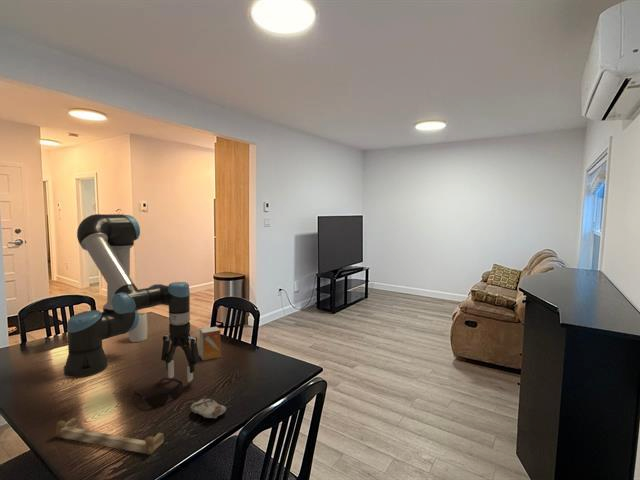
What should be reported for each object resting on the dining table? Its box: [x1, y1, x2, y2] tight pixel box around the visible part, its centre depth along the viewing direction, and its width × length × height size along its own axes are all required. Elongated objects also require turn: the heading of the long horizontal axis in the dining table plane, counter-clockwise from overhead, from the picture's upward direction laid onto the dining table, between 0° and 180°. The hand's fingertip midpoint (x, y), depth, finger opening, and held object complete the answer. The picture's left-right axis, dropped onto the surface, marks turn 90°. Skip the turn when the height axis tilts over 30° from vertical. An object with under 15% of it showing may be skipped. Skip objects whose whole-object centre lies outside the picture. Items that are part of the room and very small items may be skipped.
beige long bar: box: [56, 417, 165, 456], centre depth 100 cm, size 32×6×4 cm, turn 77°
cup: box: [128, 312, 148, 343], centre depth 176 cm, size 8×8×14 cm
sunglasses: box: [134, 377, 183, 408], centre depth 124 cm, size 14×16×5 cm
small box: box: [199, 326, 221, 362], centre depth 158 cm, size 8×6×13 cm
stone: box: [190, 397, 227, 419], centre depth 113 cm, size 12×9×3 cm
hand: (180, 379), depth 134 cm, fingers open, 8 cm apart
